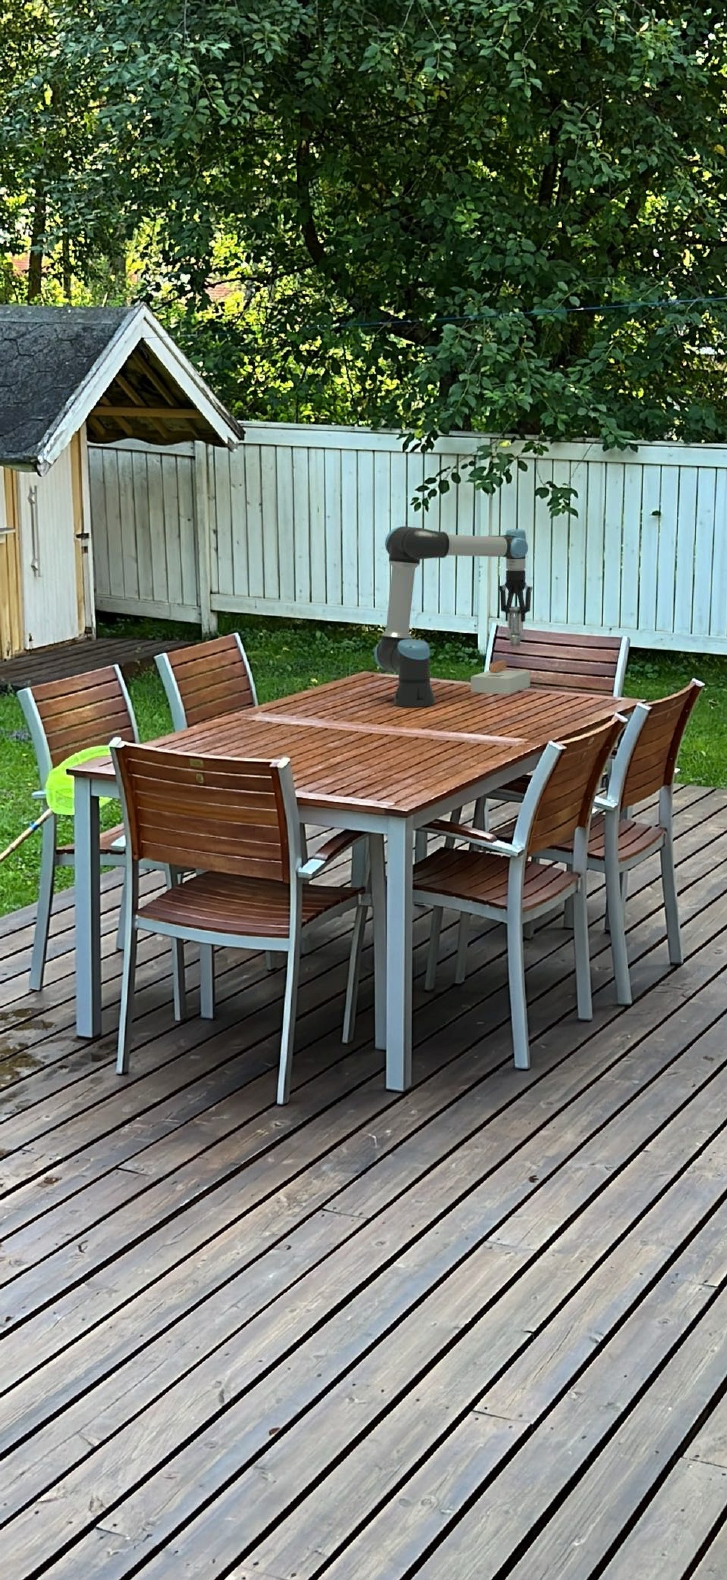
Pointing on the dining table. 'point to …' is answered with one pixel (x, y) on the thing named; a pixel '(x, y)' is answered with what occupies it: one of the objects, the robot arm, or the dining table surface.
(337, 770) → the dining table surface
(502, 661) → the lock tab
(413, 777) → the dining table surface
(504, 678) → the block
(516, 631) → the grey flanged post
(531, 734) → the dining table surface
